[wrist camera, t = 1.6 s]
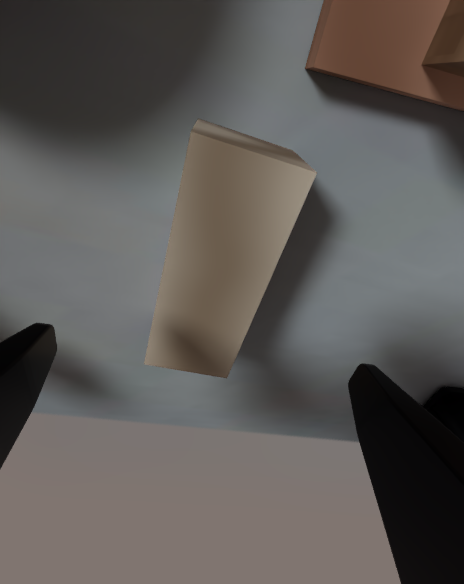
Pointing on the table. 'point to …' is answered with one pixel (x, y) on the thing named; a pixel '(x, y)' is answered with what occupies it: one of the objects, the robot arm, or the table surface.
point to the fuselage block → (223, 246)
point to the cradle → (394, 46)
